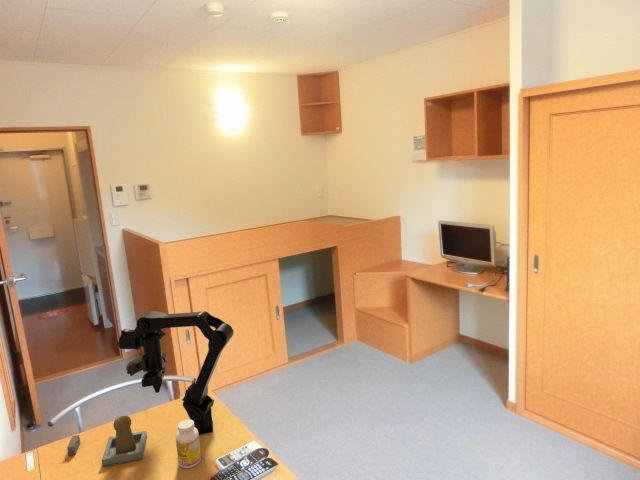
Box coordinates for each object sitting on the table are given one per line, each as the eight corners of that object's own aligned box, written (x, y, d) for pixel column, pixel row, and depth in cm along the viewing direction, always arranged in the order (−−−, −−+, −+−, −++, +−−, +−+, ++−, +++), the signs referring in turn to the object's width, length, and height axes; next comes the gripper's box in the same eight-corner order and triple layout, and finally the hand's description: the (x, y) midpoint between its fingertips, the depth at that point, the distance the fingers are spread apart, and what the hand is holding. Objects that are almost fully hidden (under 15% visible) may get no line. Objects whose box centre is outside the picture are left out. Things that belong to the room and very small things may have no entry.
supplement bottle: (174, 462, 135) (169, 424, 132) (193, 451, 140) (189, 414, 137) (186, 472, 130) (181, 433, 128) (205, 460, 135) (201, 422, 133)
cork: (128, 456, 138) (124, 424, 136) (111, 455, 139) (106, 423, 137) (140, 444, 143) (136, 413, 141) (123, 442, 145) (119, 412, 143)
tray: (147, 437, 148) (146, 430, 147) (142, 459, 137) (141, 452, 137) (110, 444, 145) (109, 437, 145) (102, 467, 134) (101, 459, 134)
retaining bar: (80, 443, 146) (79, 435, 146) (75, 454, 141) (74, 446, 140) (73, 444, 146) (72, 436, 145) (68, 455, 140) (67, 447, 140)
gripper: (130, 342, 155) (136, 383, 158) (121, 365, 137) (127, 411, 140) (164, 337, 158) (169, 377, 161) (159, 360, 140) (164, 405, 143)
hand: (157, 392), depth 151 cm, fingers closed
